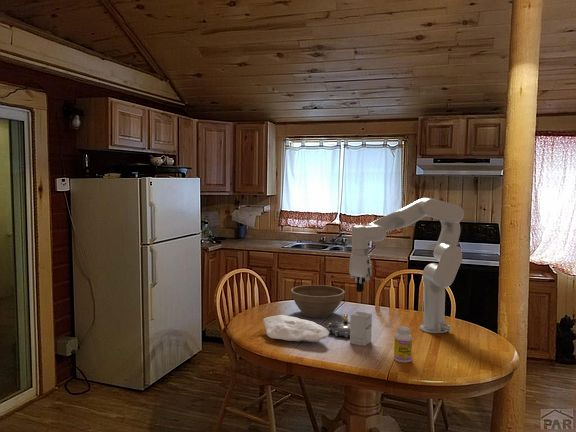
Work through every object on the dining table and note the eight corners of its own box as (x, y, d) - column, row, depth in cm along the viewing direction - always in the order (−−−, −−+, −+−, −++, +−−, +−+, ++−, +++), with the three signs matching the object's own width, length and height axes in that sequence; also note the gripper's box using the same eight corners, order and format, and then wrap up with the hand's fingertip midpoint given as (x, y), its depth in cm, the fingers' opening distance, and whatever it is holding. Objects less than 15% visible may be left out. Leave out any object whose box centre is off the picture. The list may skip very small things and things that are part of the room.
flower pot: (316, 304, 269) (316, 281, 268) (355, 315, 248) (355, 290, 247) (279, 313, 250) (279, 289, 249) (318, 325, 229) (318, 299, 228)
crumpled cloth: (282, 321, 231) (281, 303, 229) (344, 335, 210) (342, 316, 208) (251, 341, 213) (248, 322, 211) (315, 358, 192) (313, 337, 190)
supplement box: (365, 346, 200) (365, 317, 199) (349, 343, 204) (349, 314, 203) (371, 341, 206) (372, 313, 205) (356, 338, 210) (356, 310, 209)
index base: (353, 332, 218) (353, 330, 218) (346, 335, 215) (346, 333, 215) (330, 325, 229) (330, 323, 229) (323, 327, 225) (323, 325, 225)
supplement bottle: (396, 363, 182) (396, 330, 181) (392, 356, 188) (393, 325, 187) (413, 363, 182) (414, 330, 181) (409, 356, 188) (409, 325, 187)
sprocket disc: (364, 325, 226) (364, 313, 226) (366, 338, 209) (367, 324, 208) (326, 324, 228) (326, 312, 228) (326, 336, 210) (326, 323, 210)
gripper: (378, 252, 214) (378, 292, 216) (352, 249, 225) (352, 287, 227) (367, 254, 209) (368, 295, 211) (342, 251, 220) (342, 290, 222)
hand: (360, 291), depth 219 cm, fingers closed
